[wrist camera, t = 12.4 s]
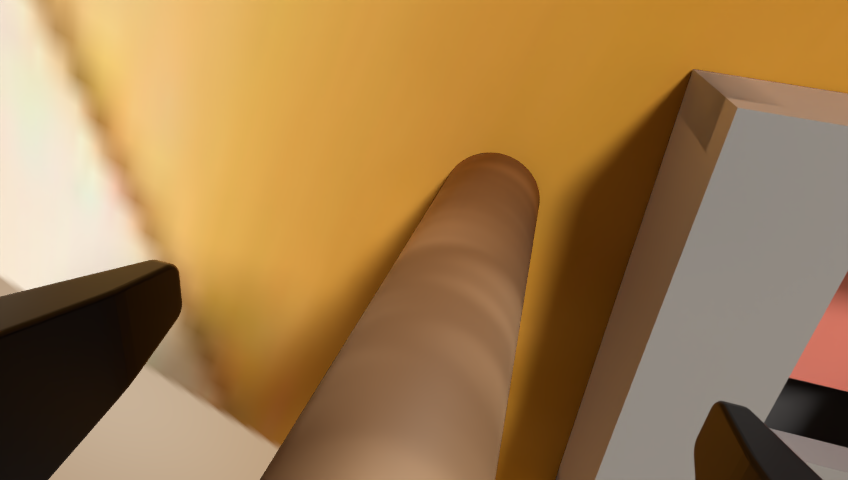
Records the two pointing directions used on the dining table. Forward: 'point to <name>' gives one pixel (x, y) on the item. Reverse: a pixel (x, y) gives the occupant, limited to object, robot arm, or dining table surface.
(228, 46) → the dining table surface
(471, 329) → the tan rounded rod
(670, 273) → the panel
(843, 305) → the button
